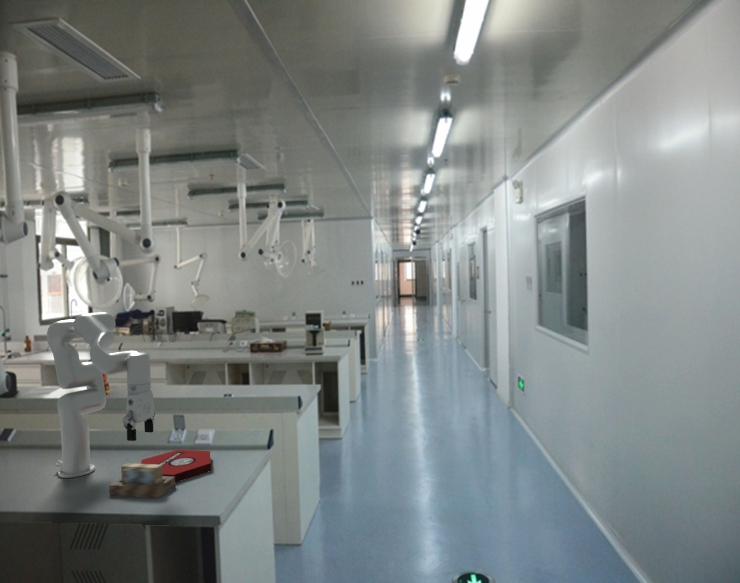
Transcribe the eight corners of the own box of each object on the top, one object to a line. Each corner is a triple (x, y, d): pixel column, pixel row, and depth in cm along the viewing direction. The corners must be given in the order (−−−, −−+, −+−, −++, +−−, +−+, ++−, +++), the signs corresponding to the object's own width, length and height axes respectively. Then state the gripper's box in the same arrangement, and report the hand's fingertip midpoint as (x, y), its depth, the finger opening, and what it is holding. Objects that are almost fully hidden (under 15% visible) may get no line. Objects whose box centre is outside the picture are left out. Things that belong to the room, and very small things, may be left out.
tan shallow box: (109, 495, 179) (109, 485, 179) (128, 483, 189) (127, 474, 189) (158, 497, 176) (158, 487, 176) (175, 486, 185) (174, 476, 185)
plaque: (119, 481, 193) (192, 485, 187) (119, 472, 193) (192, 475, 187) (161, 457, 219) (227, 460, 213) (161, 448, 219) (226, 451, 213)
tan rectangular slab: (122, 488, 182) (121, 466, 182) (127, 485, 185) (126, 463, 185) (157, 490, 179) (157, 467, 179) (162, 487, 182) (162, 464, 182)
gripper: (133, 393, 172) (134, 444, 173) (163, 383, 189) (164, 429, 190) (113, 393, 174) (114, 443, 174) (144, 382, 191) (146, 428, 191)
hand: (140, 436), depth 182 cm, fingers open, 9 cm apart
